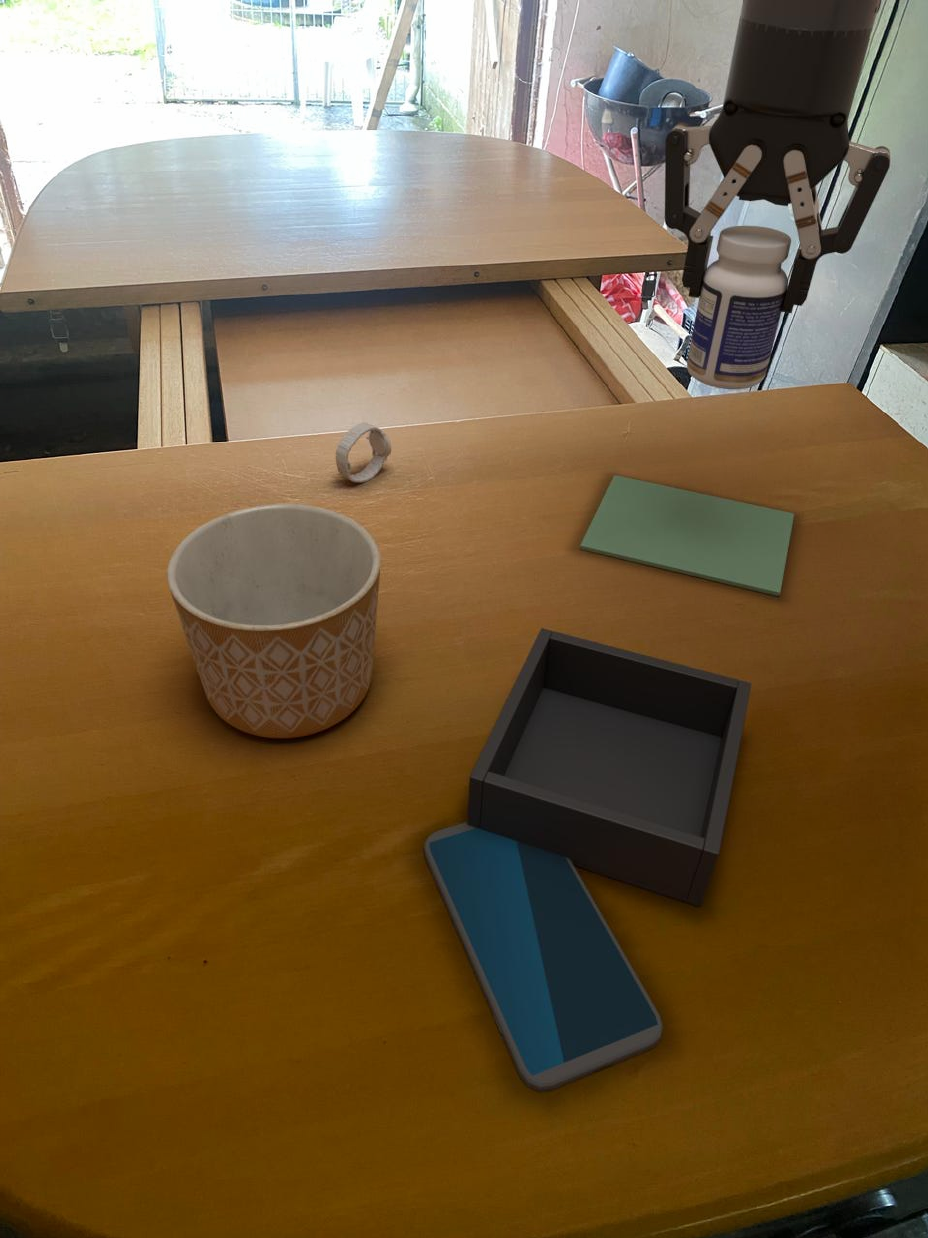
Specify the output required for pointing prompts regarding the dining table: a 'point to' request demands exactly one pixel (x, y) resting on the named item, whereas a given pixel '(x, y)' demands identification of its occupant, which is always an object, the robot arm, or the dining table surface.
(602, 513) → the mat
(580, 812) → the black box
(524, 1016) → the smartphone
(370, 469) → the wristwatch
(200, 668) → the planter
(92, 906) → the dining table surface
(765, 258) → the pill bottle
